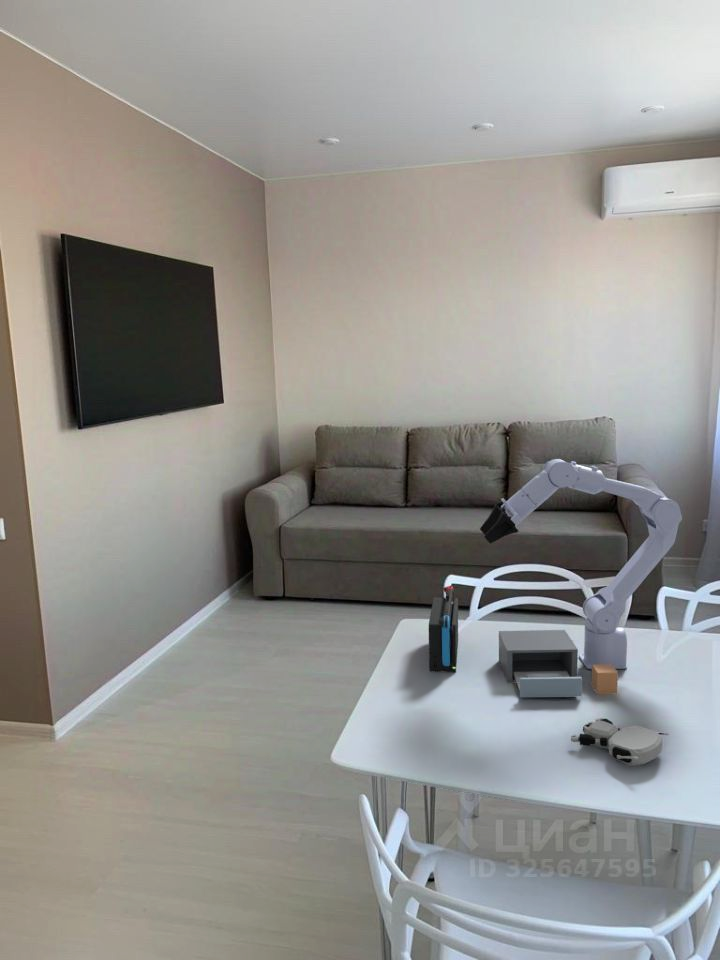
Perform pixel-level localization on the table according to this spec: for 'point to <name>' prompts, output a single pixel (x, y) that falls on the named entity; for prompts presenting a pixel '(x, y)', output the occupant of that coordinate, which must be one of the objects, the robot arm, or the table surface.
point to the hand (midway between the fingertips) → (484, 536)
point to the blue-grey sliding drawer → (548, 684)
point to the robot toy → (622, 741)
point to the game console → (443, 633)
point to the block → (604, 678)
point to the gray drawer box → (536, 652)
